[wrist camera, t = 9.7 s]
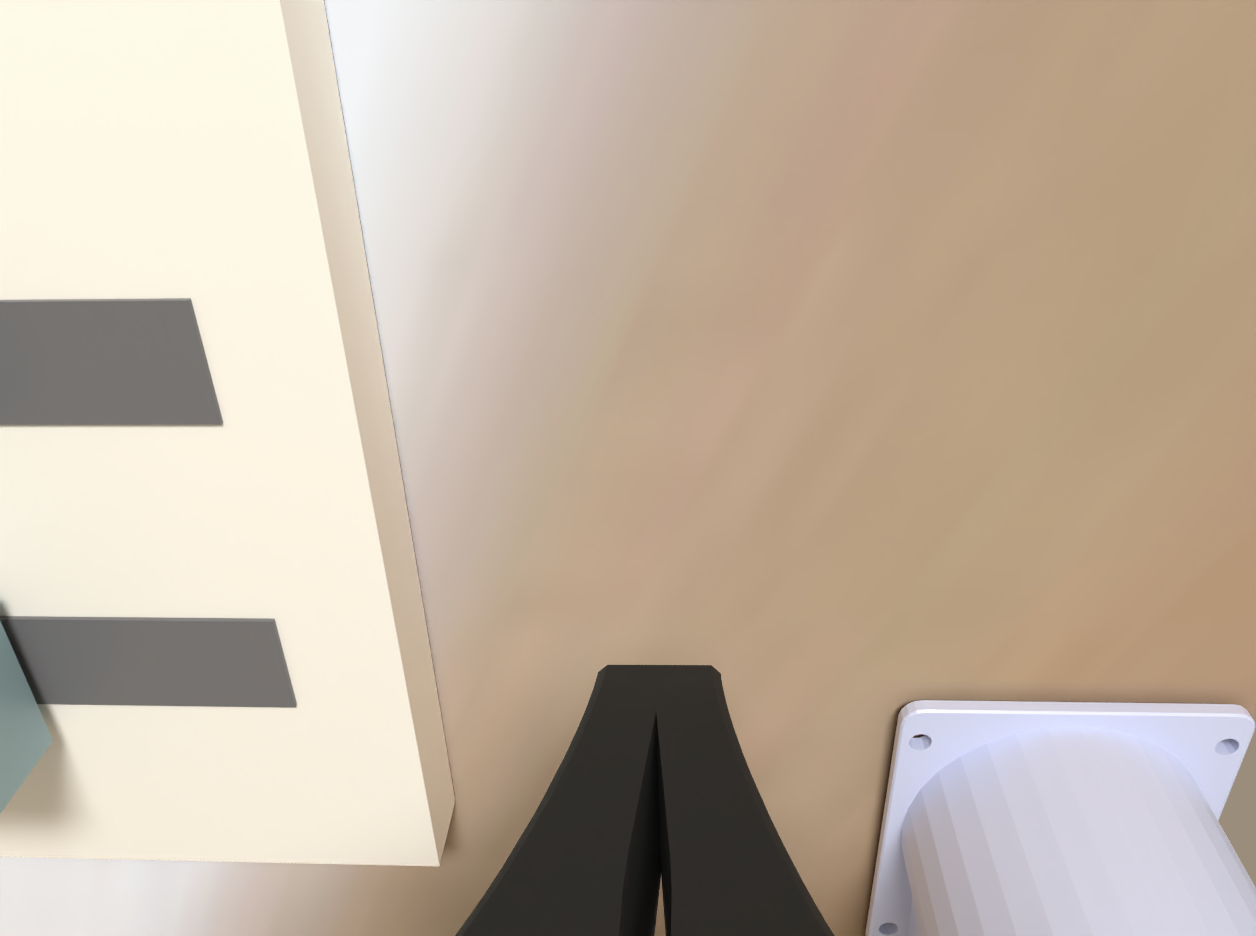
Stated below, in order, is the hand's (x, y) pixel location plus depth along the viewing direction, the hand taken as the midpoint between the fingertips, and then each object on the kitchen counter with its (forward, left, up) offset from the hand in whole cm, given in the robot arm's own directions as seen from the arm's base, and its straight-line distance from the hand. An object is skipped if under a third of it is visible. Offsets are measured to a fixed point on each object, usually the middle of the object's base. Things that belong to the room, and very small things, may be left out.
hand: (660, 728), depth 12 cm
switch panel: (-2, +13, -9) cm, 16 cm away
